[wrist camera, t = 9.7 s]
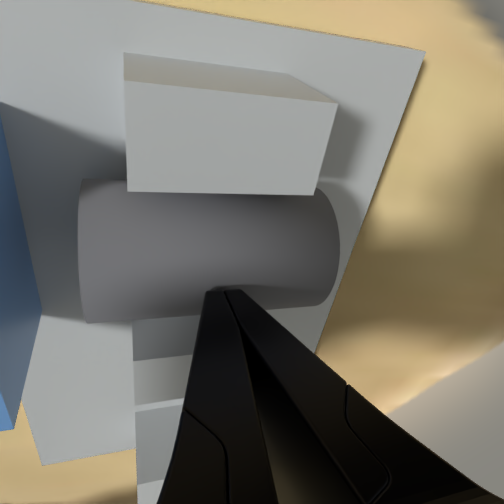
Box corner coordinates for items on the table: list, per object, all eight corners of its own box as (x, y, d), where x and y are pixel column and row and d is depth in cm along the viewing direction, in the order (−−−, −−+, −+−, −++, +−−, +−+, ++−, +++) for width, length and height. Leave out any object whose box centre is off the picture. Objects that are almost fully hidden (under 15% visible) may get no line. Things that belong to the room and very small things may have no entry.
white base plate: (283, 403, 21) (319, 499, 17) (45, 443, 17) (23, 578, 13) (404, 46, 11) (556, 83, 7) (-92, -41, 7) (-330, -61, 3)
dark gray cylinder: (295, 171, 12) (353, 214, 9) (278, 267, 13) (321, 331, 10) (87, 161, 10) (72, 211, 7) (96, 274, 11) (86, 355, 8)
